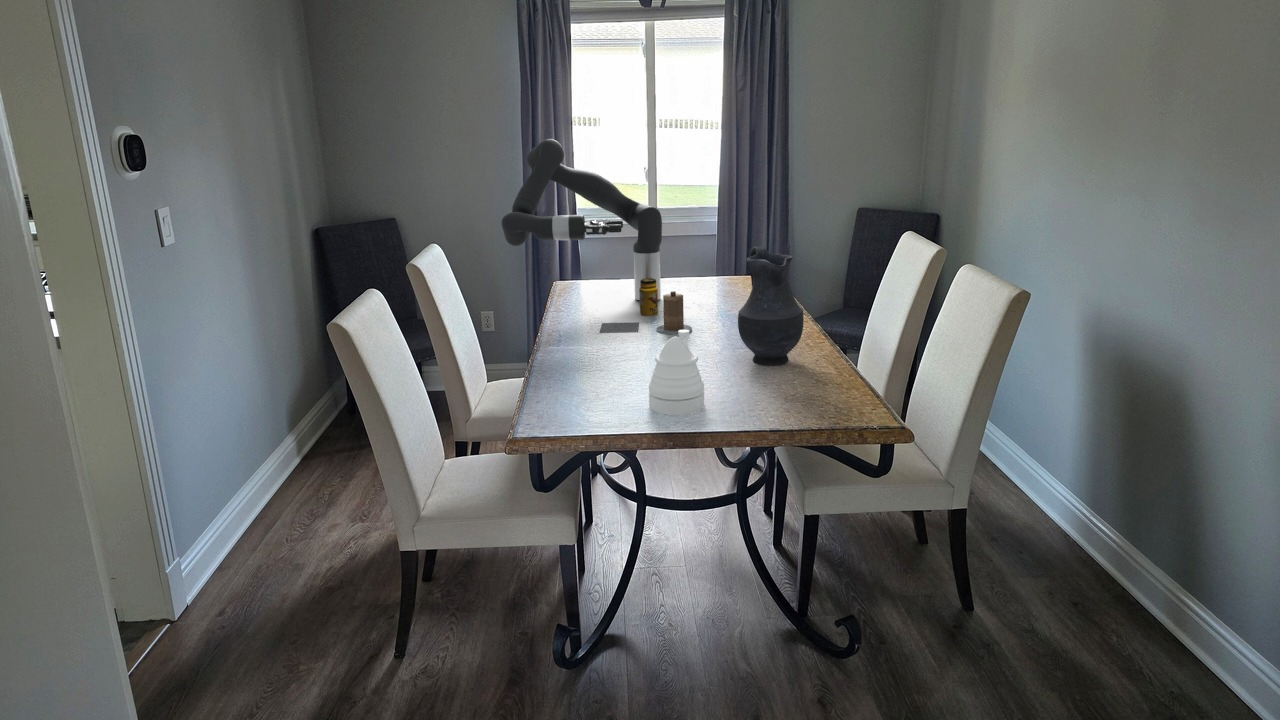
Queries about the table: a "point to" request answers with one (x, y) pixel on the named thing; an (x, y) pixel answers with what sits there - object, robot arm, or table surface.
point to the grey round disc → (661, 330)
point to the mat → (619, 327)
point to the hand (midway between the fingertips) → (622, 226)
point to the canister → (673, 311)
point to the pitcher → (770, 310)
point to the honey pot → (676, 379)
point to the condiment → (648, 297)
